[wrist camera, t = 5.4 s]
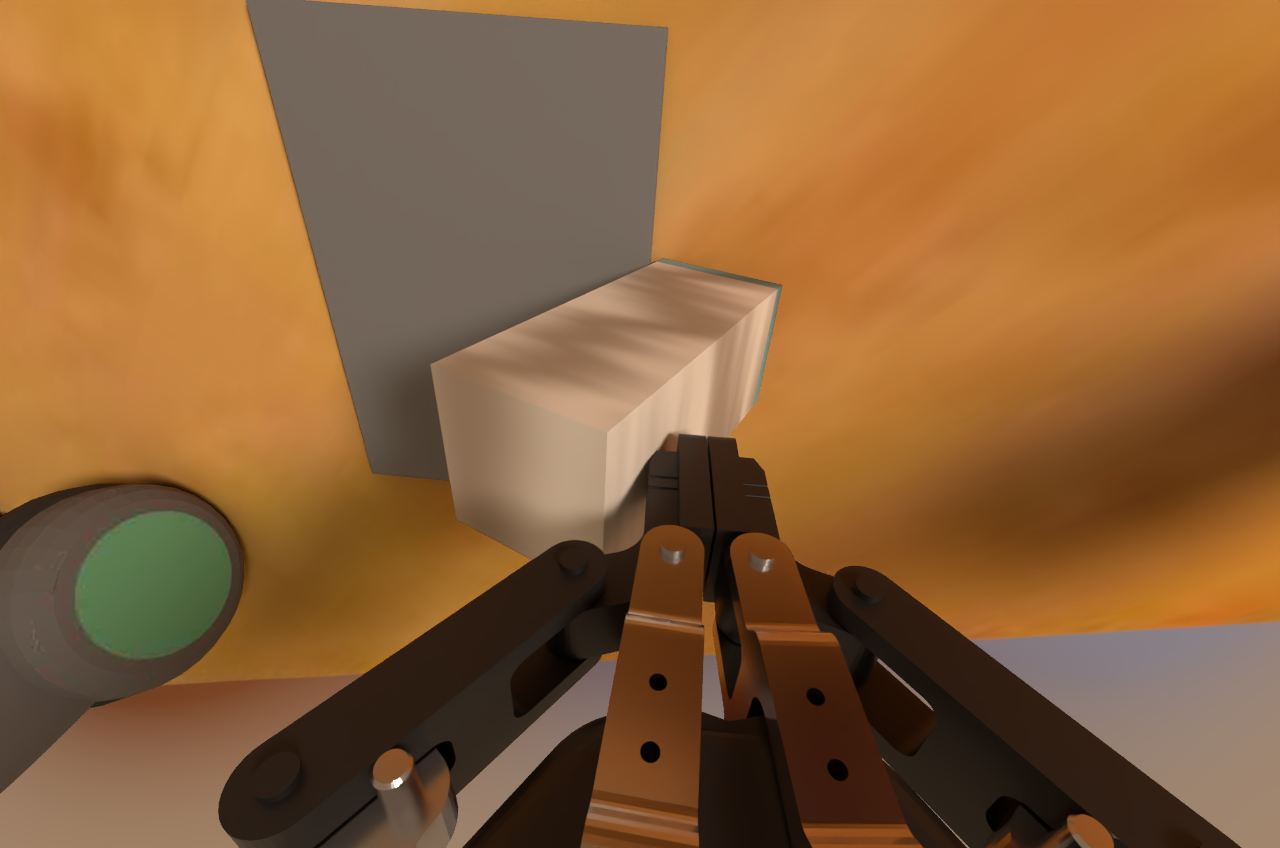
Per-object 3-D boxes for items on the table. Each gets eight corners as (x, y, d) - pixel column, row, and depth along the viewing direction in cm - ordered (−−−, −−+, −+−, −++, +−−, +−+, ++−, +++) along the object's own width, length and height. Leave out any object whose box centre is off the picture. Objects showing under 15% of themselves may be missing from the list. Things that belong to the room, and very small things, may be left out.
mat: (668, 28, 17) (667, 27, 17) (633, 492, 28) (632, 497, 28) (252, -3, 18) (244, -4, 17) (376, 468, 29) (372, 473, 28)
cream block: (782, 285, 20) (607, 432, 11) (757, 401, 22) (600, 596, 13) (663, 258, 21) (430, 363, 13) (653, 368, 24) (456, 519, 15)
